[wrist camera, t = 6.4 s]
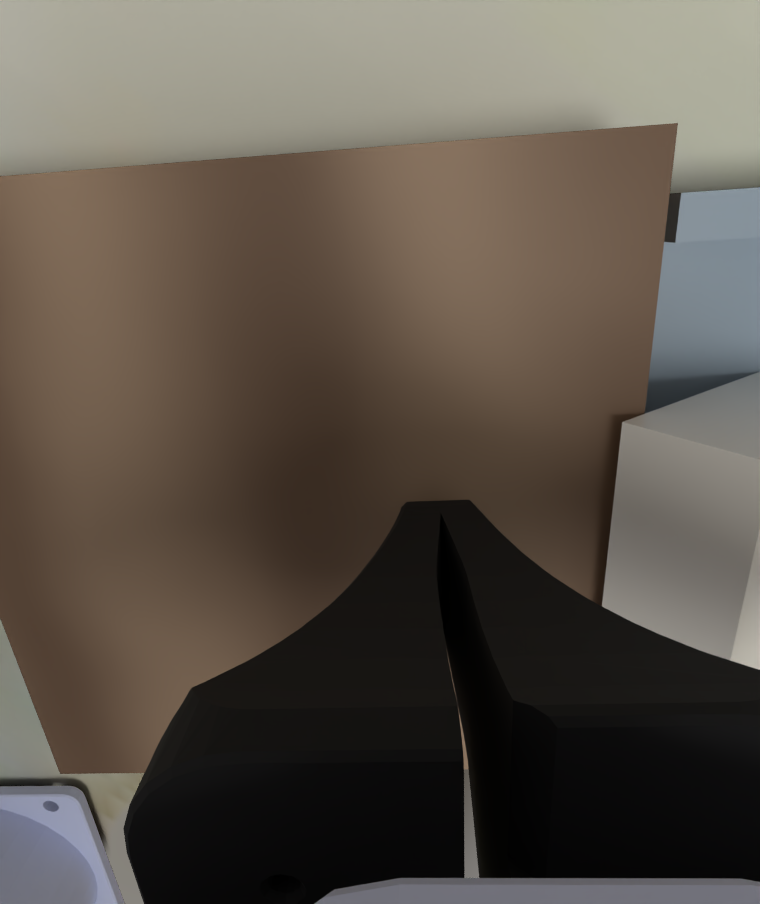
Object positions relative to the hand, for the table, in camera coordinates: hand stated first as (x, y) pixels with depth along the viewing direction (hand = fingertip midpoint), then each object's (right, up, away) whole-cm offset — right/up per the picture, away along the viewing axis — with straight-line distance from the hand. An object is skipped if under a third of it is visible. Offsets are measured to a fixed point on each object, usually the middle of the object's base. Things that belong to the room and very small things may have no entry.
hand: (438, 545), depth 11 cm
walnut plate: (-3, +1, +4) cm, 5 cm away
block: (+5, +1, +1) cm, 6 cm away
